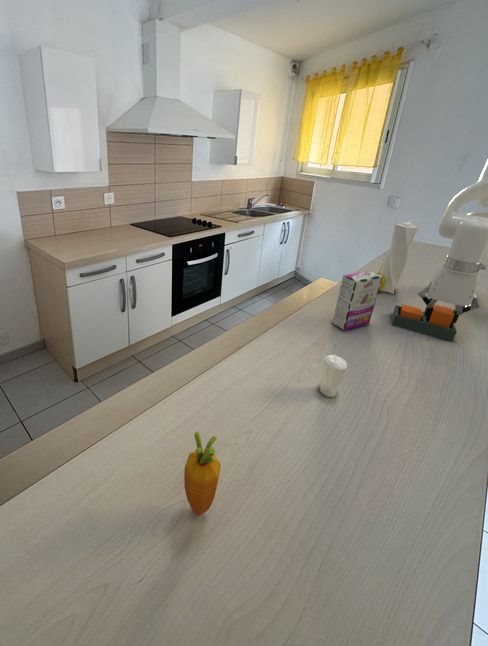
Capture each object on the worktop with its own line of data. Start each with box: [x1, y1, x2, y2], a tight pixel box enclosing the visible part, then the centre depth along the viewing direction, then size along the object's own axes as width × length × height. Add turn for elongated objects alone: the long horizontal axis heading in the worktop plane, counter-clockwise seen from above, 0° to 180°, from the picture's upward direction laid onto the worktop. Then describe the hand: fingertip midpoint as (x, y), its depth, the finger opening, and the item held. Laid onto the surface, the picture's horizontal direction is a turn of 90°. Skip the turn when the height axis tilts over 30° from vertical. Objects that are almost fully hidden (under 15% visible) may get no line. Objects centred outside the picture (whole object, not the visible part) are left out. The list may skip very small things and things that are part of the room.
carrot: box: [183, 431, 221, 516], centre depth 45 cm, size 5×5×15 cm
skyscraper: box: [378, 218, 423, 295], centre depth 119 cm, size 8×8×28 cm
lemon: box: [376, 271, 385, 290], centre depth 121 cm, size 6×6×8 cm
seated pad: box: [399, 304, 423, 320], centre depth 101 cm, size 5×5×4 cm
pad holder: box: [391, 304, 457, 342], centre depth 99 cm, size 8×15×4 cm, turn 59°
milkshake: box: [319, 346, 348, 398], centre depth 71 cm, size 4×5×10 cm
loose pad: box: [428, 303, 454, 328], centre depth 97 cm, size 5×5×4 cm
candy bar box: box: [332, 270, 383, 331], centre depth 97 cm, size 11×5×16 cm, turn 114°
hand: (438, 320), depth 97 cm, fingers closed on loose pad, 5 cm apart
